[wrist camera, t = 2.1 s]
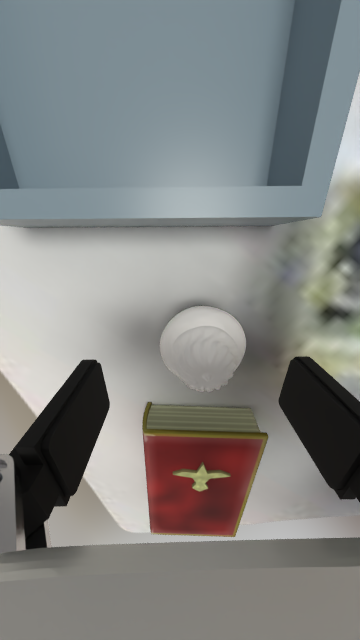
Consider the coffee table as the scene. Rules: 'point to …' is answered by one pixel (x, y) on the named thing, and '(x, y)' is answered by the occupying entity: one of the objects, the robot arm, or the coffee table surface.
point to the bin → (172, 110)
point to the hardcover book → (199, 467)
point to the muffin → (203, 347)
